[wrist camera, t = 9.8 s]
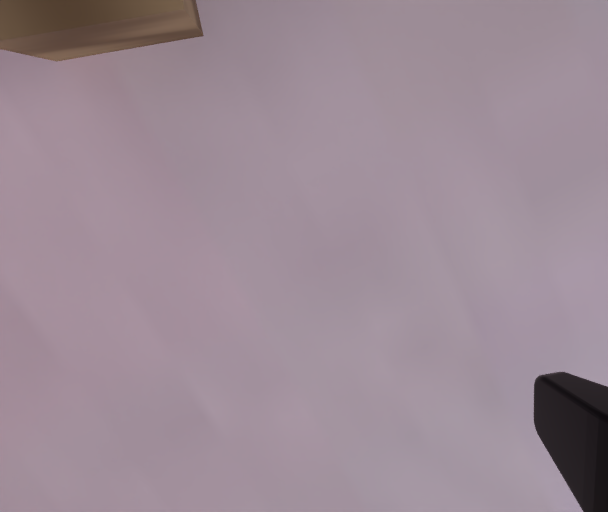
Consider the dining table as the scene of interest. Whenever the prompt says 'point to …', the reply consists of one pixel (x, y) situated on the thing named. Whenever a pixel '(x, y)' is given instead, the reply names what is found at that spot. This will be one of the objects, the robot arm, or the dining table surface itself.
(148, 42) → the rectangular block
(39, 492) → the dining table surface
